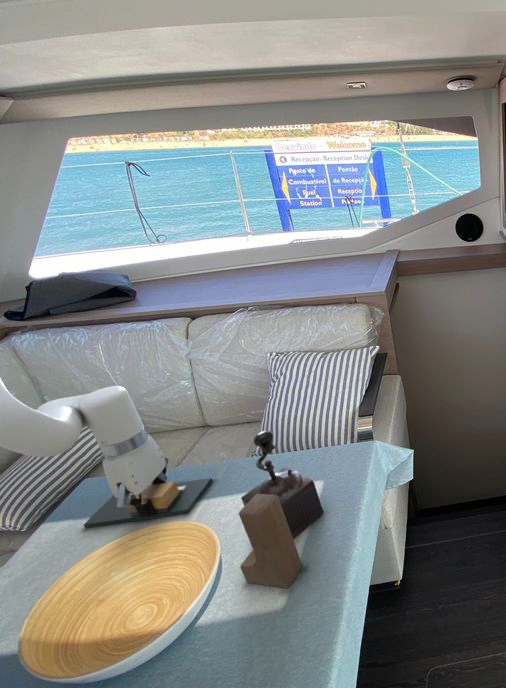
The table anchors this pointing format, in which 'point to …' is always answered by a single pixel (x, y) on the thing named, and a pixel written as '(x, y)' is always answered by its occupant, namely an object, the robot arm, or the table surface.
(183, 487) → the chalk mark
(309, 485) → the manual coffee grinder
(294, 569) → the wooden block
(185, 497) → the slate board
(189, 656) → the table surface
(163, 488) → the eraser
